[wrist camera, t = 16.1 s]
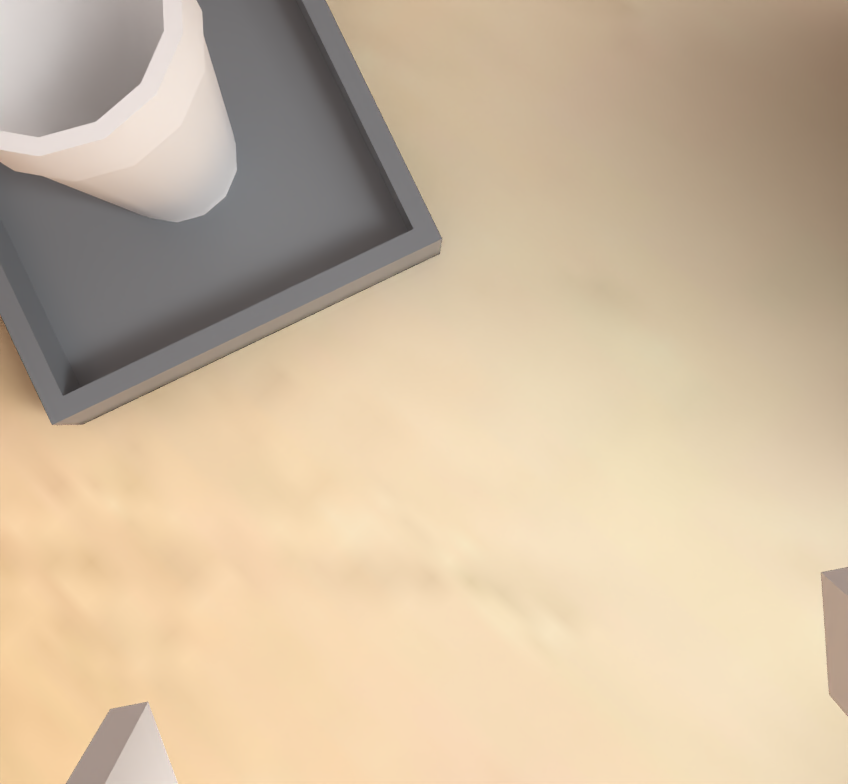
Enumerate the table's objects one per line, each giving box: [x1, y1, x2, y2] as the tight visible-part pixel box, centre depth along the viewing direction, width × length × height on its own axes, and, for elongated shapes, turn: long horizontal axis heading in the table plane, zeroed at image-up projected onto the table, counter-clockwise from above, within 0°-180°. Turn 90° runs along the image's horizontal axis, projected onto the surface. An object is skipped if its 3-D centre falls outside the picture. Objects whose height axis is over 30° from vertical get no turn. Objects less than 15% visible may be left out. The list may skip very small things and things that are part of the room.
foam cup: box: [0, 0, 237, 222], centre depth 29 cm, size 10×9×13 cm
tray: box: [0, 0, 442, 425], centre depth 34 cm, size 20×20×3 cm
